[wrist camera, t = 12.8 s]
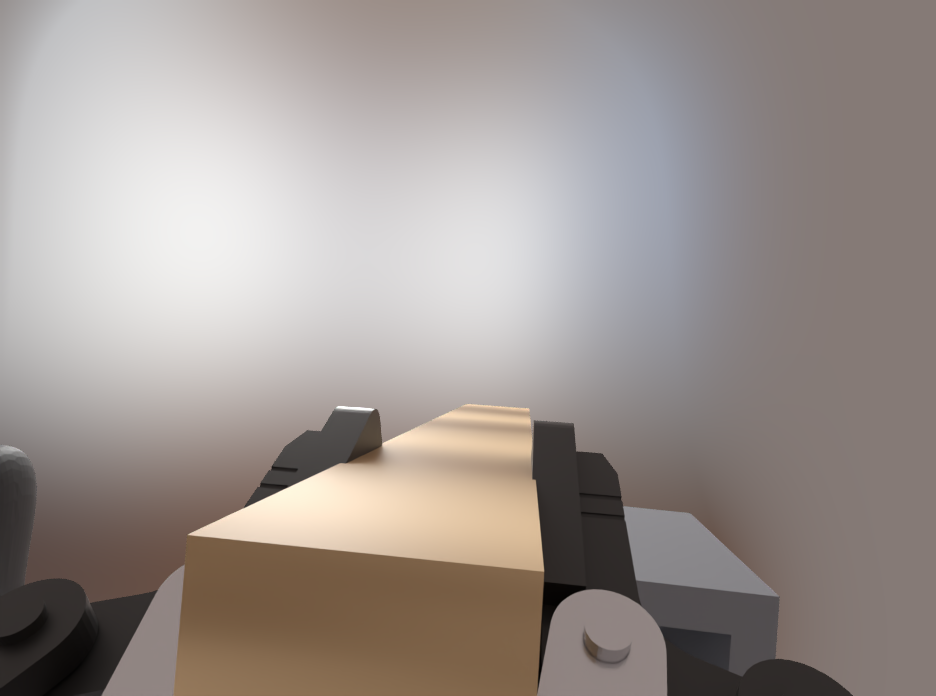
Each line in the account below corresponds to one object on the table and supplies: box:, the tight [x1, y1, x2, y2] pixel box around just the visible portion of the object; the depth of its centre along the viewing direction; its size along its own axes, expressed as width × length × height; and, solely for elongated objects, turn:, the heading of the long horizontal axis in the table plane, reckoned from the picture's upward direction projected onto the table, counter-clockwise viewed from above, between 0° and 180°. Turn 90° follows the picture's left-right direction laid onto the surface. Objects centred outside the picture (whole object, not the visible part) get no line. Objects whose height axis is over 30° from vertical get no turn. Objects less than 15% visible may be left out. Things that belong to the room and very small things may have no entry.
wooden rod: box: [173, 404, 544, 696], centre depth 15 cm, size 22×3×3 cm, turn 174°
